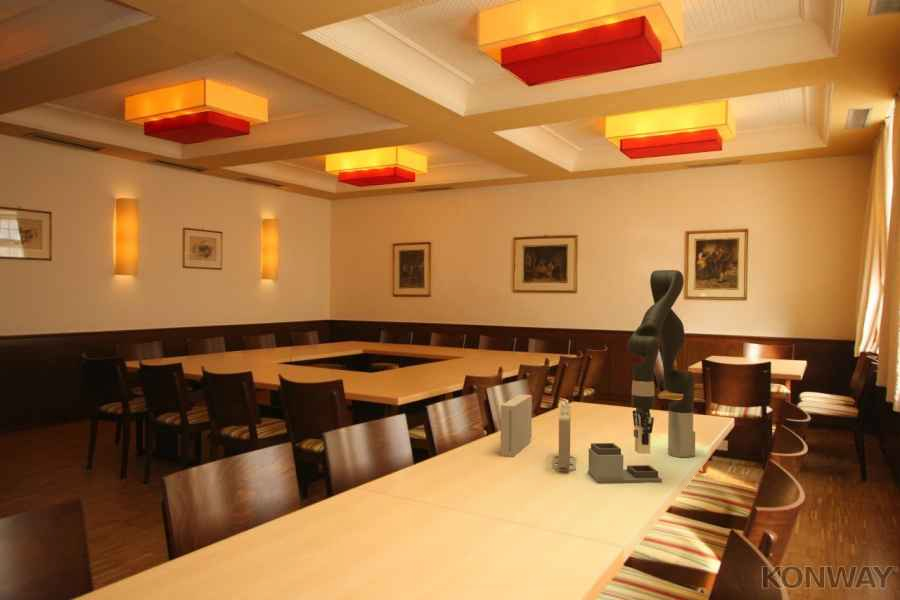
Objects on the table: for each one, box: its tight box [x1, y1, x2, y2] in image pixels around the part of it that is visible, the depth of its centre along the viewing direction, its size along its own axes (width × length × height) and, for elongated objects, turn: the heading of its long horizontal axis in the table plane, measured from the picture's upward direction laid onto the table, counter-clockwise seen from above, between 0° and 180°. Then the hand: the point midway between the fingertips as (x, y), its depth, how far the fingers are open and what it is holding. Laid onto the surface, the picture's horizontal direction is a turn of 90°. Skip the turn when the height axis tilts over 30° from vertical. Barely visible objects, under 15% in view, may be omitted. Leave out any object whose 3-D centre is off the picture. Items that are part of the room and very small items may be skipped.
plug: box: [633, 425, 652, 455], centre depth 215 cm, size 5×4×9 cm
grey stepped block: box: [587, 442, 663, 484], centre depth 215 cm, size 22×12×11 cm, turn 94°
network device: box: [550, 404, 577, 472], centre depth 232 cm, size 26×9×20 cm, turn 168°
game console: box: [500, 393, 533, 458], centre depth 254 cm, size 6×27×20 cm, turn 158°
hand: (642, 442), depth 215 cm, fingers closed on plug, 4 cm apart
